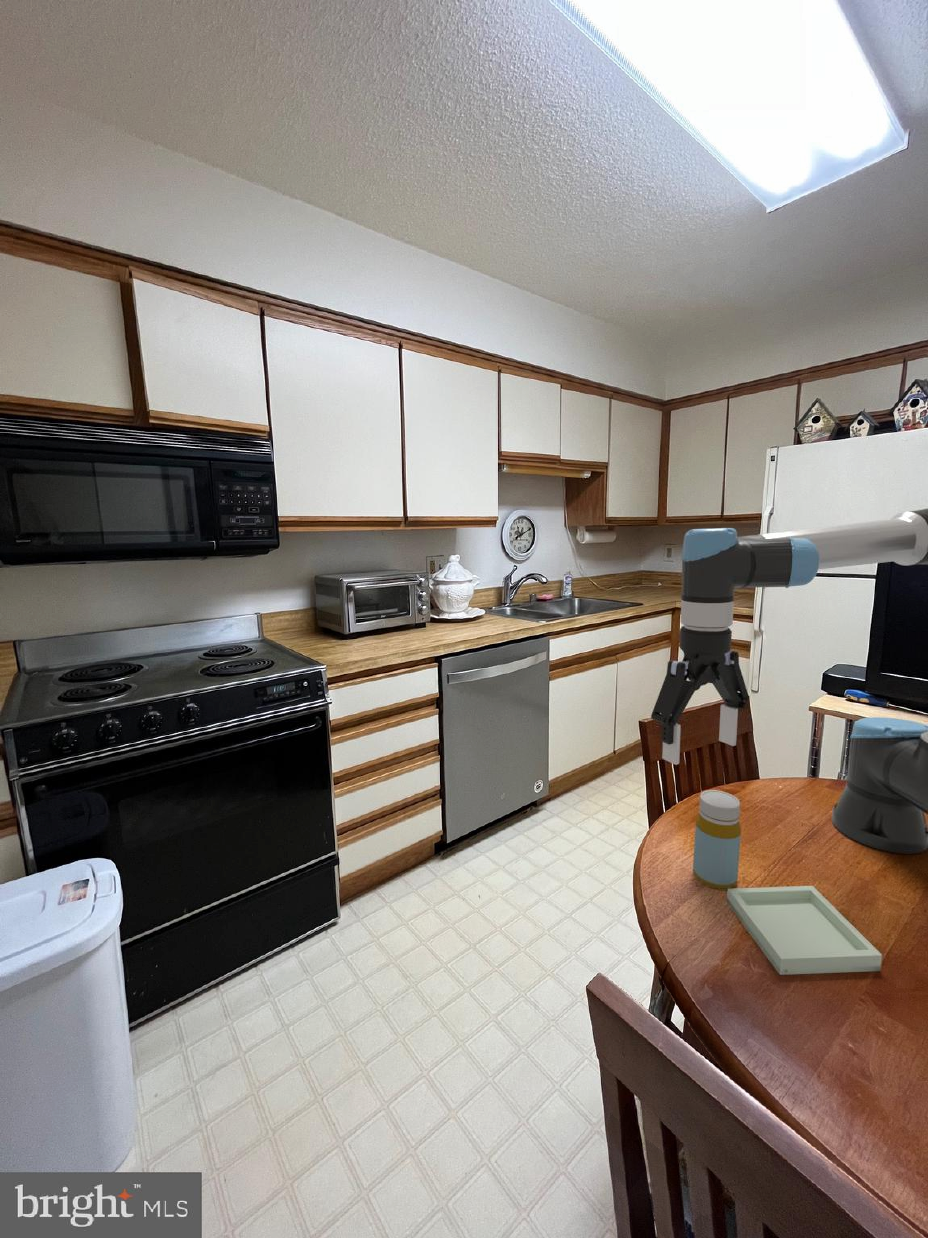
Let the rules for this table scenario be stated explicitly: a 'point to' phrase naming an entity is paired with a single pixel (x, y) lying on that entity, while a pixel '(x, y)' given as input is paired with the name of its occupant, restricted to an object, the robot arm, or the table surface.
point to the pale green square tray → (802, 931)
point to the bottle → (717, 840)
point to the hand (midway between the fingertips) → (699, 752)
